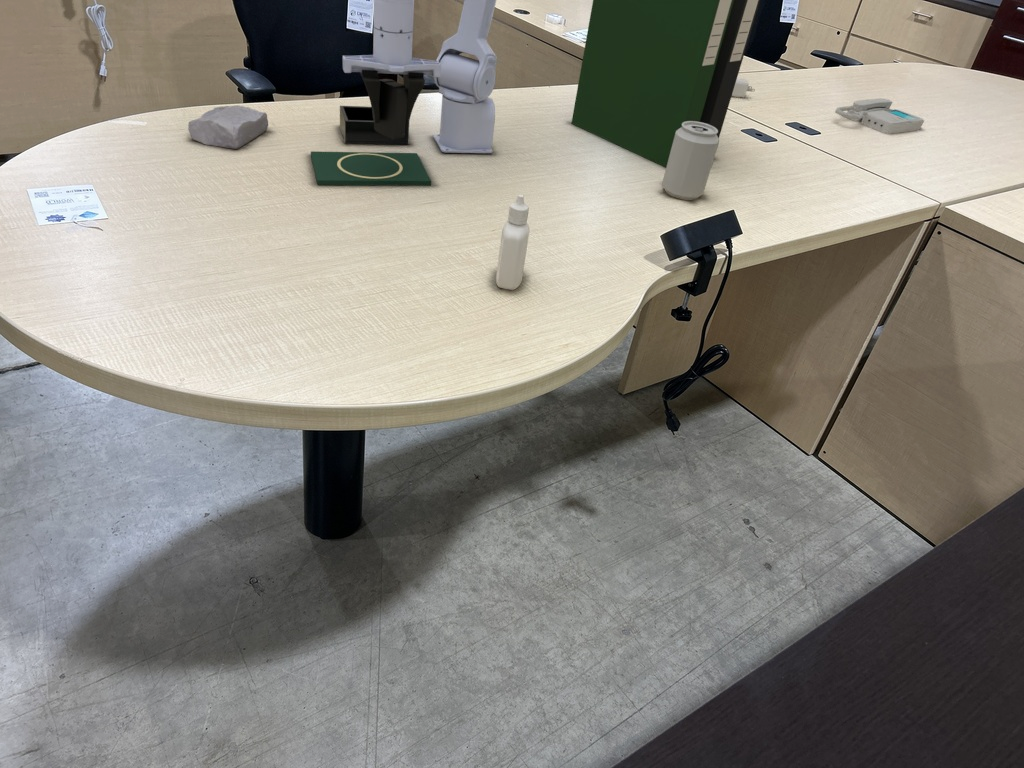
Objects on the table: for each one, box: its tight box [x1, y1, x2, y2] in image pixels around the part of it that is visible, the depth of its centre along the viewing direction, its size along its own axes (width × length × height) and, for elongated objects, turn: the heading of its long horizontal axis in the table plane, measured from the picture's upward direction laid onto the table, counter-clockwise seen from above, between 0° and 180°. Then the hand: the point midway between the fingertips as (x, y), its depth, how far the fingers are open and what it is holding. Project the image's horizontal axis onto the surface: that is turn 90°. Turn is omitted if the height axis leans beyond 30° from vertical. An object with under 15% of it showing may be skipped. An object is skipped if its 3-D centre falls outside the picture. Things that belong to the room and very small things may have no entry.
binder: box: [571, 0, 761, 168], centre depth 142 cm, size 27×15×32 cm, turn 44°
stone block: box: [187, 104, 269, 150], centre depth 125 cm, size 12×5×10 cm
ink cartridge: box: [374, 78, 408, 140], centre depth 114 cm, size 5×2×8 cm, turn 48°
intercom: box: [834, 97, 925, 135], centre depth 185 cm, size 13×4×25 cm
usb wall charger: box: [731, 77, 756, 99], centre depth 190 cm, size 4×7×4 cm, turn 96°
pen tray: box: [339, 105, 410, 146], centre depth 133 cm, size 11×8×4 cm
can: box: [661, 121, 720, 201], centre depth 128 cm, size 8×8×12 cm
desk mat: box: [310, 150, 432, 186], centre depth 121 cm, size 18×12×1 cm, turn 107°
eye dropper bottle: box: [495, 194, 530, 291], centre depth 94 cm, size 4×6×12 cm
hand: (390, 121), depth 116 cm, fingers closed on ink cartridge, 4 cm apart
